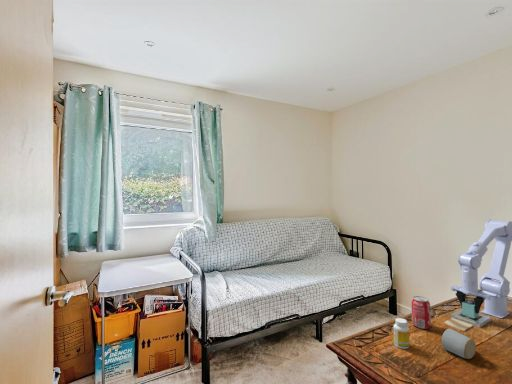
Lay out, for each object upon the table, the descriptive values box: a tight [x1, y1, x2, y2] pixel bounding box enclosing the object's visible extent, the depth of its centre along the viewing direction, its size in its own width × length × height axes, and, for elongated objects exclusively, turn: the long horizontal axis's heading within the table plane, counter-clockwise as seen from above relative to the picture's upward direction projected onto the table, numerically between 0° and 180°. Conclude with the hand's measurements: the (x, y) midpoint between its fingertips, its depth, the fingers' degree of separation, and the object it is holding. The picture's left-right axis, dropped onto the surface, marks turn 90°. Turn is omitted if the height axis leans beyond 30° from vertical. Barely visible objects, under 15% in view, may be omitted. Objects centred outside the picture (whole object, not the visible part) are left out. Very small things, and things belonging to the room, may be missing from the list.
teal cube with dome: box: [461, 299, 480, 319], centre depth 124 cm, size 5×5×6 cm
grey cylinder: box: [441, 328, 477, 360], centre depth 100 cm, size 11×8×8 cm
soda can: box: [411, 295, 432, 330], centre depth 119 cm, size 7×7×12 cm
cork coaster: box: [442, 317, 474, 332], centre depth 120 cm, size 8×8×1 cm
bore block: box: [450, 308, 492, 328], centre depth 124 cm, size 11×11×2 cm
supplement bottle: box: [392, 317, 410, 350], centre depth 105 cm, size 5×5×10 cm
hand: (470, 310), depth 124 cm, fingers closed on teal cube with dome, 5 cm apart
